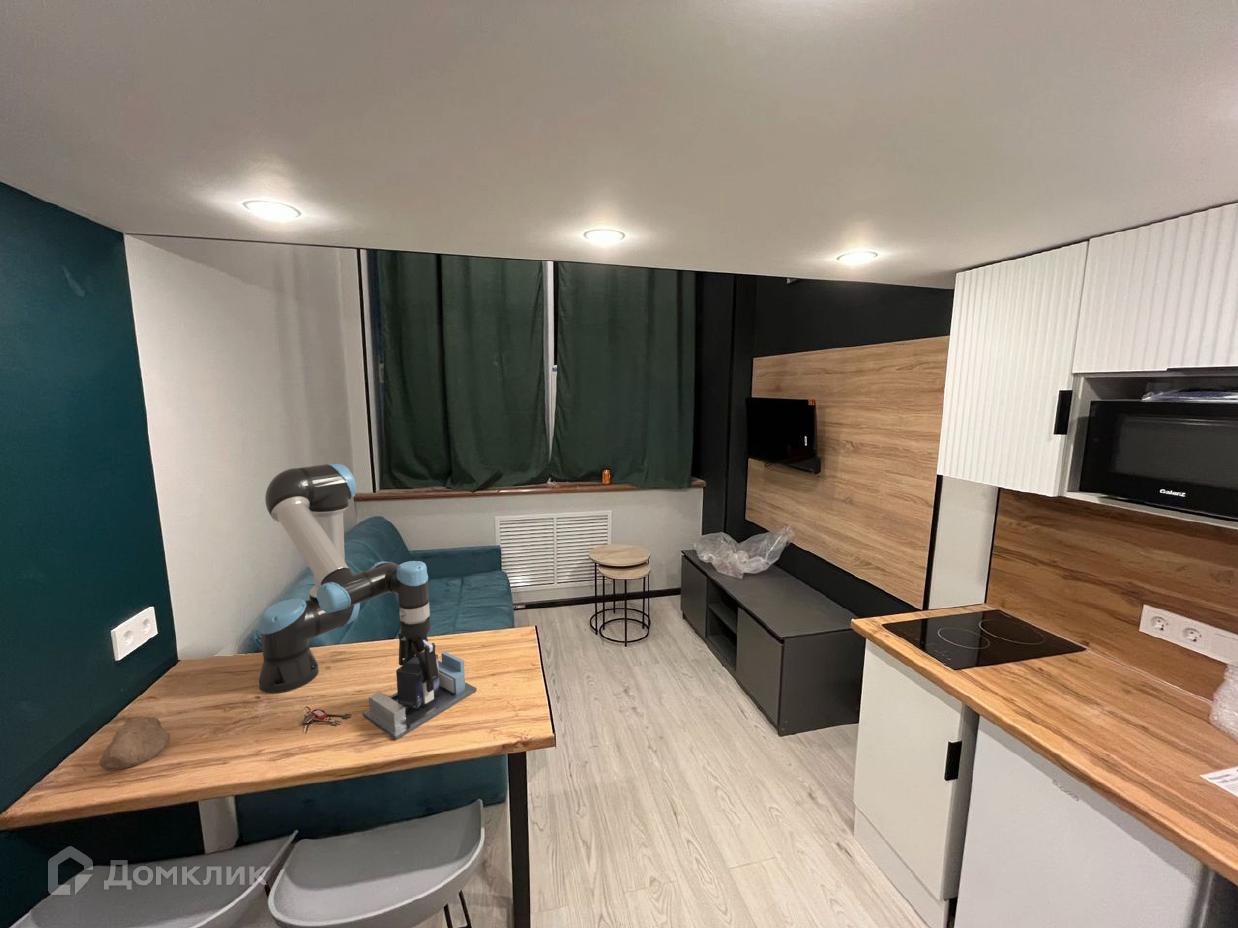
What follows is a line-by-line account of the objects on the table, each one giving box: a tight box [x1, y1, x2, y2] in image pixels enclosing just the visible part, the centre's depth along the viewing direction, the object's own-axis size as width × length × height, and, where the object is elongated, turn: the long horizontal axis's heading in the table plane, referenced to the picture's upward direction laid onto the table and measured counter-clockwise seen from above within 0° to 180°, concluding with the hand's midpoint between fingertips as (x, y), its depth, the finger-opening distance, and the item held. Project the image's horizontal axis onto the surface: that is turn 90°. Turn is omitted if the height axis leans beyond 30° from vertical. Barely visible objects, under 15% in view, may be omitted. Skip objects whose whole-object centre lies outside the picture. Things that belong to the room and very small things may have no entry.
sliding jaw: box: [438, 651, 466, 695], centre depth 144 cm, size 12×5×8 cm, turn 55°
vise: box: [362, 681, 477, 741], centre depth 137 cm, size 16×25×6 cm, turn 145°
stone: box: [98, 716, 171, 771], centre depth 118 cm, size 12×9×10 cm
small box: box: [395, 651, 440, 709], centre depth 136 cm, size 11×6×10 cm, turn 166°
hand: (419, 695), depth 137 cm, fingers closed on small box, 8 cm apart
